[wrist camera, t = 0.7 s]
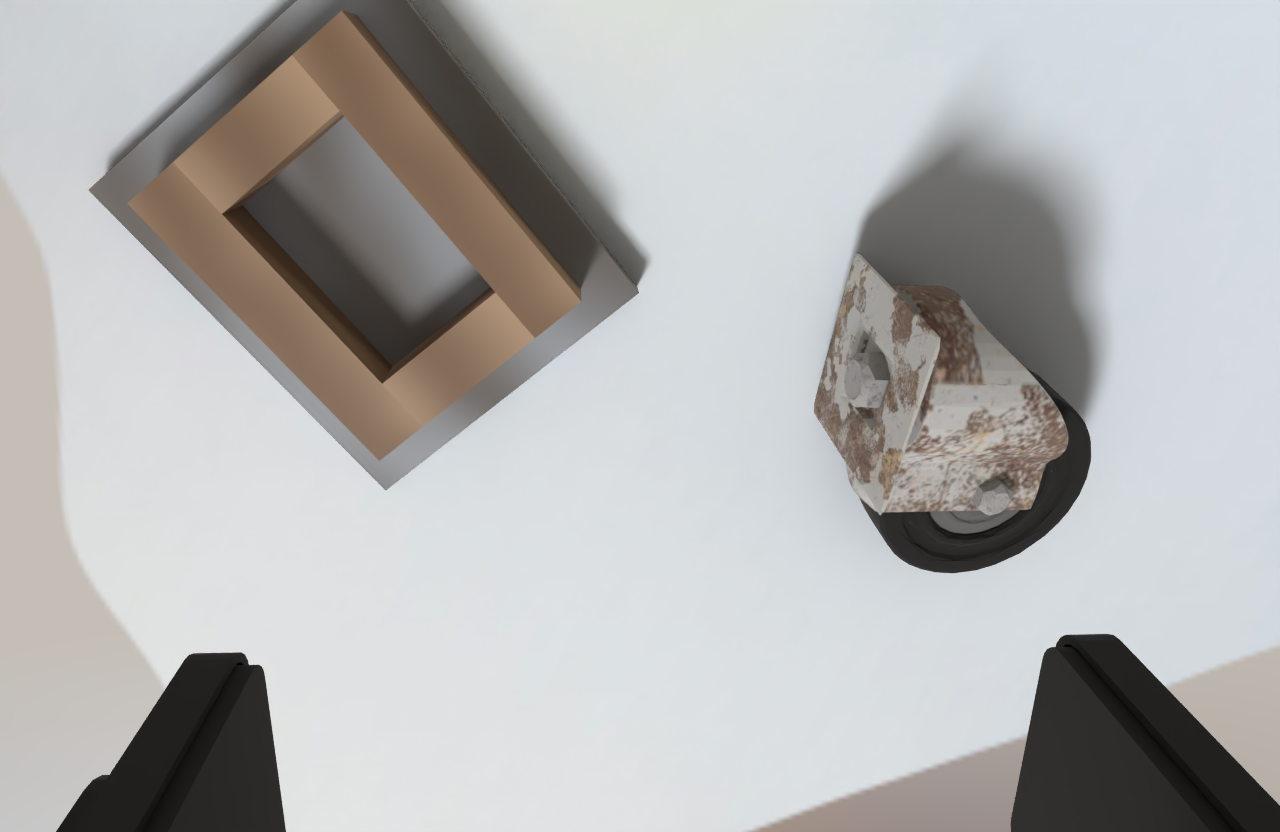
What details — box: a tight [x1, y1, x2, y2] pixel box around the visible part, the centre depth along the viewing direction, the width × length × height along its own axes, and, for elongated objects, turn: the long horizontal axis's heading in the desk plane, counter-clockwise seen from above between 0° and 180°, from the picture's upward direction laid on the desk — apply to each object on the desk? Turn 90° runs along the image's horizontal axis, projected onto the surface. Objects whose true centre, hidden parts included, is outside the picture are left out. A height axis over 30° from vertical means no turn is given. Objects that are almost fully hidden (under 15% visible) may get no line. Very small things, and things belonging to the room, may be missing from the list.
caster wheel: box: [814, 254, 1091, 573], centre depth 34 cm, size 7×11×10 cm
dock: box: [89, 0, 639, 490], centre depth 32 cm, size 12×14×3 cm
